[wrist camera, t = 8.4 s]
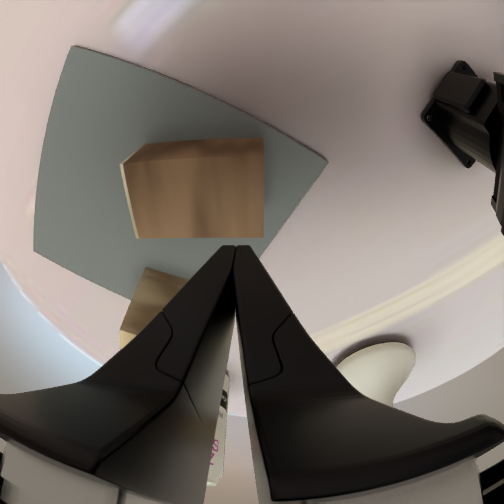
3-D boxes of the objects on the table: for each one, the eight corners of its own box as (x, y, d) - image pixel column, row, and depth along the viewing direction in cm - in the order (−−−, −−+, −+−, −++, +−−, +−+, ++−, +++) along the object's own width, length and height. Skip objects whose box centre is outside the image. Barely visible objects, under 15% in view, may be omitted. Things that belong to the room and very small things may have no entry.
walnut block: (143, 144, 18) (263, 138, 18) (154, 208, 21) (262, 206, 21) (119, 164, 15) (264, 156, 14) (136, 238, 18) (263, 237, 17)
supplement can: (177, 385, 38) (162, 480, 26) (160, 354, 33) (136, 467, 21) (232, 387, 38) (226, 488, 26) (224, 356, 33) (215, 479, 21)
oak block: (200, 282, 25) (187, 349, 19) (189, 317, 28) (177, 379, 22) (145, 266, 24) (119, 329, 18) (141, 303, 27) (120, 362, 21)
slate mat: (326, 159, 19) (328, 162, 18) (206, 326, 29) (205, 330, 29) (75, 45, 13) (71, 45, 13) (36, 247, 24) (33, 251, 23)
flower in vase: (388, 379, 37) (416, 530, 17) (318, 382, 37) (332, 553, 17) (433, 323, 30) (490, 511, 10) (353, 323, 29) (393, 559, 9)
